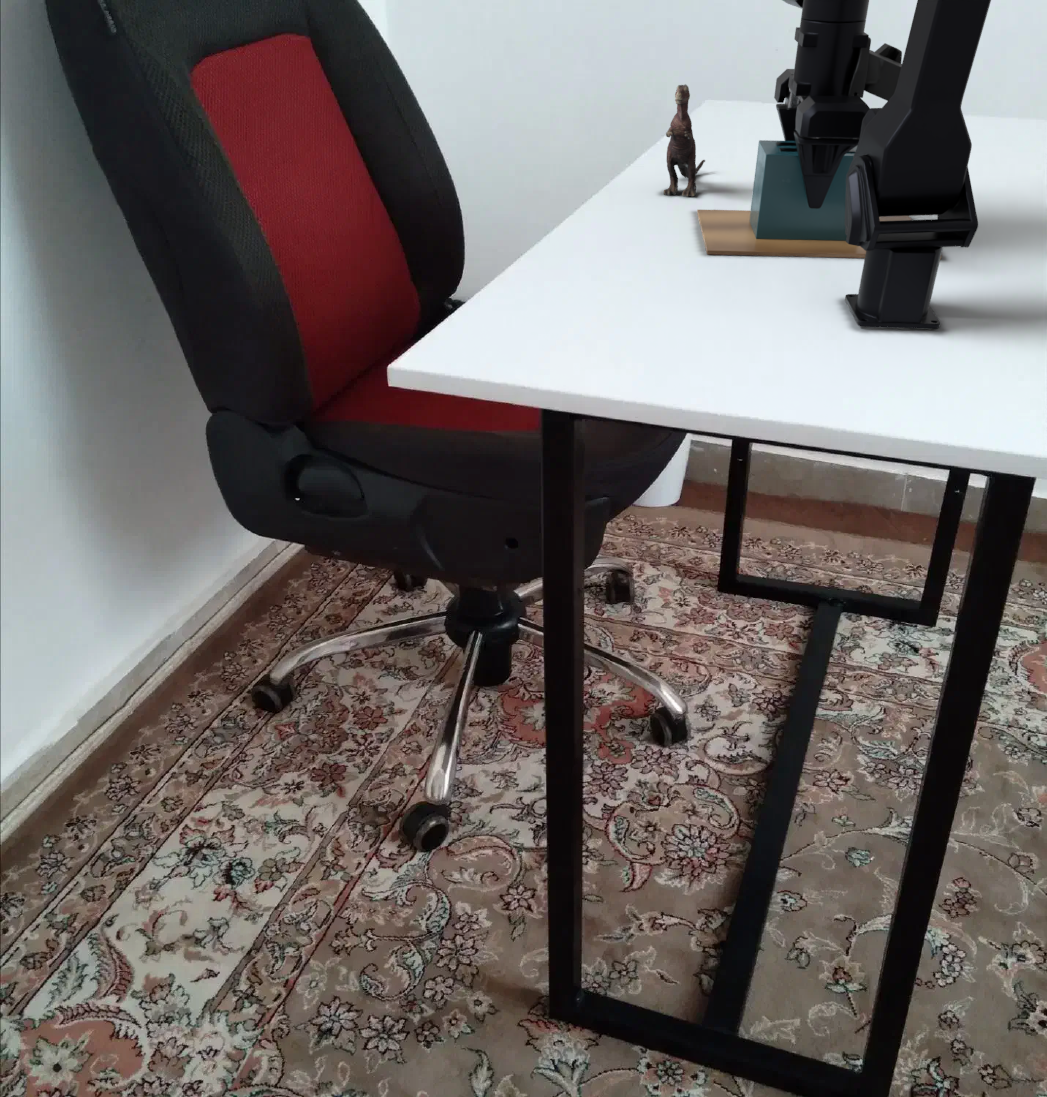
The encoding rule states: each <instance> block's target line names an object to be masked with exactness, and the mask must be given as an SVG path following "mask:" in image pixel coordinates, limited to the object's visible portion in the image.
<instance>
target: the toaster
mask: <svg viewBox="0 0 1047 1097" xmlns="http://www.w3.org/2000/svg"><path fill="white" fill-rule="evenodd" d="M857 146H858V145H857ZM857 146H856V147H854V148H853V149H851V150H850V151H849V152H847V153H846V154H845V155H844V156H843V158H842V160H841V162H840V164H839V167H838V169H837V171H836V173H835V175H834V178H833V180H832V183H831V185H830V187H829V190H828V192H827V194H826V197H825V199H824V201H823V204H822V206H821V207H820V208H818V209H817V208H809V206H808V201H807V196H806V192H805V187H804V181H803V176H802V171H801V166H800V161H799V156H798V151H797V146H796V141H785V140H766V139H765V140H760V139H759V140H758V146H757V154H756V161H755V171H754V177H753V187H752V195H751V204H750V210H749V211H750V219H749V221H750V224H751V227H752V230H753V232H754V235H755V238H756V239H786V240H832V241H846V237H847V235H846V234H845V199H846V175H847V173H848V171H849V167H850V165H851V162H852V161H853V156H854V154H855V151H856V149H857Z"/></svg>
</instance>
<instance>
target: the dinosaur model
mask: <svg viewBox="0 0 1047 1097" xmlns="http://www.w3.org/2000/svg"><path fill="white" fill-rule="evenodd" d="M690 97H691V93H690V89H689V86H688V85H687V84H686V83H685V84H678V85H677V87H676V91H675V94H674V98H675V99H674V101H675V104H676V113H675V114H674V116H673V118H672V120H671V121H670V125H669V126H670V127H669V128H668V130H667V131H666V133H665V136H666V137H667V138H670V139H669V141H668V145H667V147H666V148H667V149H666V167H667V171H668V175H669V181H670V183H669V187H668V188H665V189H664V190H663V195H666V196H667V195H668V196H672V195H674V196H676V194H677V193H679V177H678V173H677V171H676V168H675V166H677V168H678V170H679V173H680V174H681V176H682V177H684V178H685V179H686V178H687V185H686V188H685V189H683V191H682V193H681V196H682V197H683V196H684V197H685V196H686V197H695V196H696V194H697V183H696V177H697V176H696V175H697V174H698V172H699V171H700V169H701V168H702V167H703V165H704V163H706V159H702V160H701V161H700V163H698V164H696V159H697V151H696V150H697V146H696V140H695V138H694V134H693V132H694V131H693V129H692V126H693V125H692V119H691V116H690V115H689V111H688V110H689V101H690Z"/></svg>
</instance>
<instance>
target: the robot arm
mask: <svg viewBox="0 0 1047 1097" xmlns="http://www.w3.org/2000/svg"><path fill="white" fill-rule="evenodd" d="M782 1H783V2H784V3H786V4H788V5H790V6H793V7H796V8H798V9H801V16H800V23H799V27H798V26H796V27H795V30H794V40H795V41H796V43H797V45H796V53H795V62H794V68H786V69H785V70H784V71H783V72H782V73H781V74H780V75H779V76H778V77H776V79H775V81H776V82H775V89H774V96H773V98H774V100H775V101H776V104H775V108H776V111H777V115H778V119H779V123H780V126H781V131H782V136H783V139H784V140H783V141H796V146H797V151H798V156H799V161H800V166H801V171H802V176H803V181H804V187H805V192H806V196H807V201H808V206H809V208H817V209H818V208H820V207H821V206H822V204H823V201H824V199H825V197H826V194H827V192H828V190H829V187H830V185H831V183H832V180H833V178H834V175H835V173H836V171H837V169H838V167H839V164H840V162H841V160H842V158H843V156H844V155H845V154H846V153H847V152H849V151H850V150H851V149H853V148H854V147H856V146H857V145H858V146H857V149H856V151H855V154H854V156H853V161H852V162H851V165H850V167H849V171H848V173H847V175H846V199H845V234H846V235H847V237H846V242H847V243H848V244H851V245H856V246H860V247H862V248H863V249H864V250H865V251H866V255H865V258H864V261H863V265H862V266H863V267H862V271H861V277H860V282H859V288H858V291H857V293H855V294H854V293H847V294H845V296H844V302H845V304H846V306H847V307H848V309H849V311H850V314H851V315H852V317H853V319H854V321H855V323H856V325H857V326H858V327H860V328H885V329H888V328H889V329H890V328H891V329H920V330H921V329H923V330H925V329H926V330H938V329H940V327H941V323H942V322H941V320H940V319H939V318H938V316H937V315H936V313H935V311H934V310H933V309H932V308H931V302H932V297H933V293H934V288H935V284H936V278H937V275H938V271H939V265H940V261H941V260H940V257H941V255H942V253H943V248H955V247H960V248H969V247H970V245H971V243H972V241H973V239H974V237H975V234H976V232H977V230H978V228H979V221H978V216H977V210H976V203H975V199H974V193H973V187H972V182H971V177H970V172H969V162H970V156H971V153H972V149H973V148H972V146H973V145H972V140H971V137H970V133H969V130H968V127H967V124H966V121H965V117H964V113H963V110H962V104H963V100H964V96H965V93H966V90H967V86H968V82H969V79H970V75H971V72H972V68H973V64H974V61H975V57H976V54H977V51H978V47H979V43H980V40H981V38H982V37H981V36H982V33H983V30H984V26H985V22H986V19H987V16H988V13H989V9H990V5H991V2H992V0H916V5H915V11H914V13H913V16H912V17H913V18H912V22H911V24H910V25H911V26H910V29H909V34H908V38H907V42H906V47H905V50H904V54H903V51H902V50H900V49H899V48H897V47H895V46H892V45H891V44H888V43H883V44H882V45H881V46H879V47H878V48H877V49H876V50H875V51H874V50H871V45H872V39H871V37H869V33H867V32H865V28H866V23H867V16H868V10H869V5H870V0H782ZM902 57H903V58H902ZM865 92H866V93H868V94H870V95H873V96H875V97H877V98H880V99H882V100H884V101H887V102H885V104H884V105H883V106H882V107H870V106H869V105H868V103H866V101H864V100H863V99H862V98H864V94H865ZM892 216H909V217H919V216H920V217H921V216H937V218H936V219H932V218H931V219H912V220H902V221H880V219H879V217H892ZM941 258H942V257H941Z"/></svg>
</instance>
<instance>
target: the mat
mask: <svg viewBox="0 0 1047 1097" xmlns="http://www.w3.org/2000/svg"><path fill="white" fill-rule="evenodd" d="M750 211H751V210H739V209H730V210H729V209H728V210H727V209H697V210H696V214H697V219H698V223H699V227H700V230H701V235H702V239H703V245H704V249H705V252H706V255H714V256H715V255H717V256H721V255H722V256H755V257H757V256H759V257H761V256H762V257H801V258H802V257H805V258H846V259H847V258H848V259H850V258H853V259H865V255H866V251H865V250H864V249H863V248H862V247H860V246H856V245H851V244H848V243H847V242H846V241H832V240H786V239H756V238H755V235H754V232H753V230H752V227H751V224H750V221H749V219H750ZM879 219H880V221H902V220H913V219H912V218H911V216H892V217H879ZM942 257H943V256H942V254H941V257H940V261H941V260H942Z"/></svg>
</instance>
